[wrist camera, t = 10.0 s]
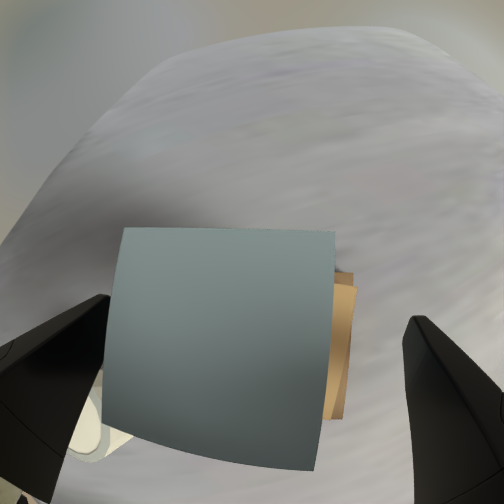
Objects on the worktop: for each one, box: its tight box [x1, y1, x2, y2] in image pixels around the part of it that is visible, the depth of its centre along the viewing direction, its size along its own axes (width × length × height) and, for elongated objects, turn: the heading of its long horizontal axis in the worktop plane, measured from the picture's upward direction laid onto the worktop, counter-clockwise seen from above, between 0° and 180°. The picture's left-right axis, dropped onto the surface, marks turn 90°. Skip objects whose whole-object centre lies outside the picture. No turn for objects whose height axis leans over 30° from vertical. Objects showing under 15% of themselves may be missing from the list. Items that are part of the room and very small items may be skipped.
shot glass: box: [66, 370, 133, 463], centre depth 17 cm, size 7×7×7 cm
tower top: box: [322, 283, 357, 420], centre depth 17 cm, size 8×8×2 cm
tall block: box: [101, 227, 335, 471], centre depth 11 cm, size 5×5×11 cm
